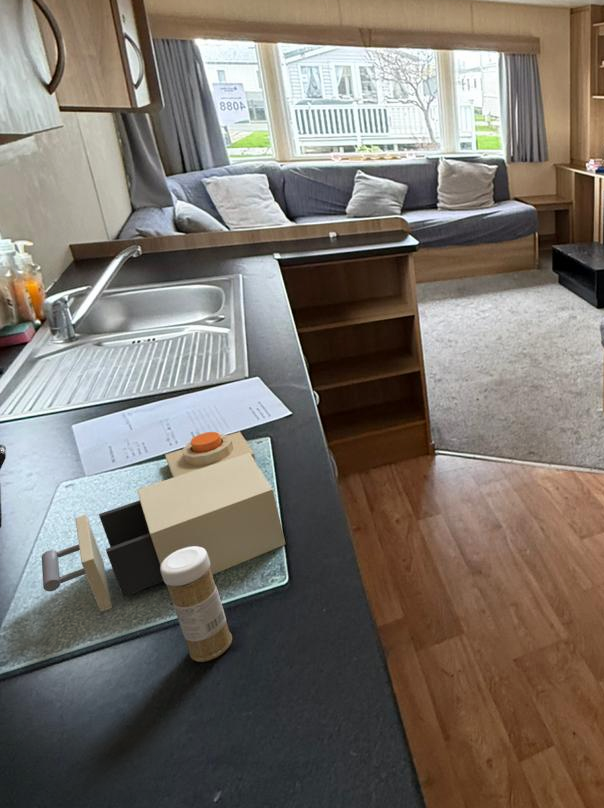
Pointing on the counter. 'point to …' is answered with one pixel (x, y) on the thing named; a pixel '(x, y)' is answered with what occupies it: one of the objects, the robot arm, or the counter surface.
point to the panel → (207, 455)
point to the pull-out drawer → (110, 555)
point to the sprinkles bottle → (196, 602)
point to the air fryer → (214, 513)
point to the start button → (206, 442)
